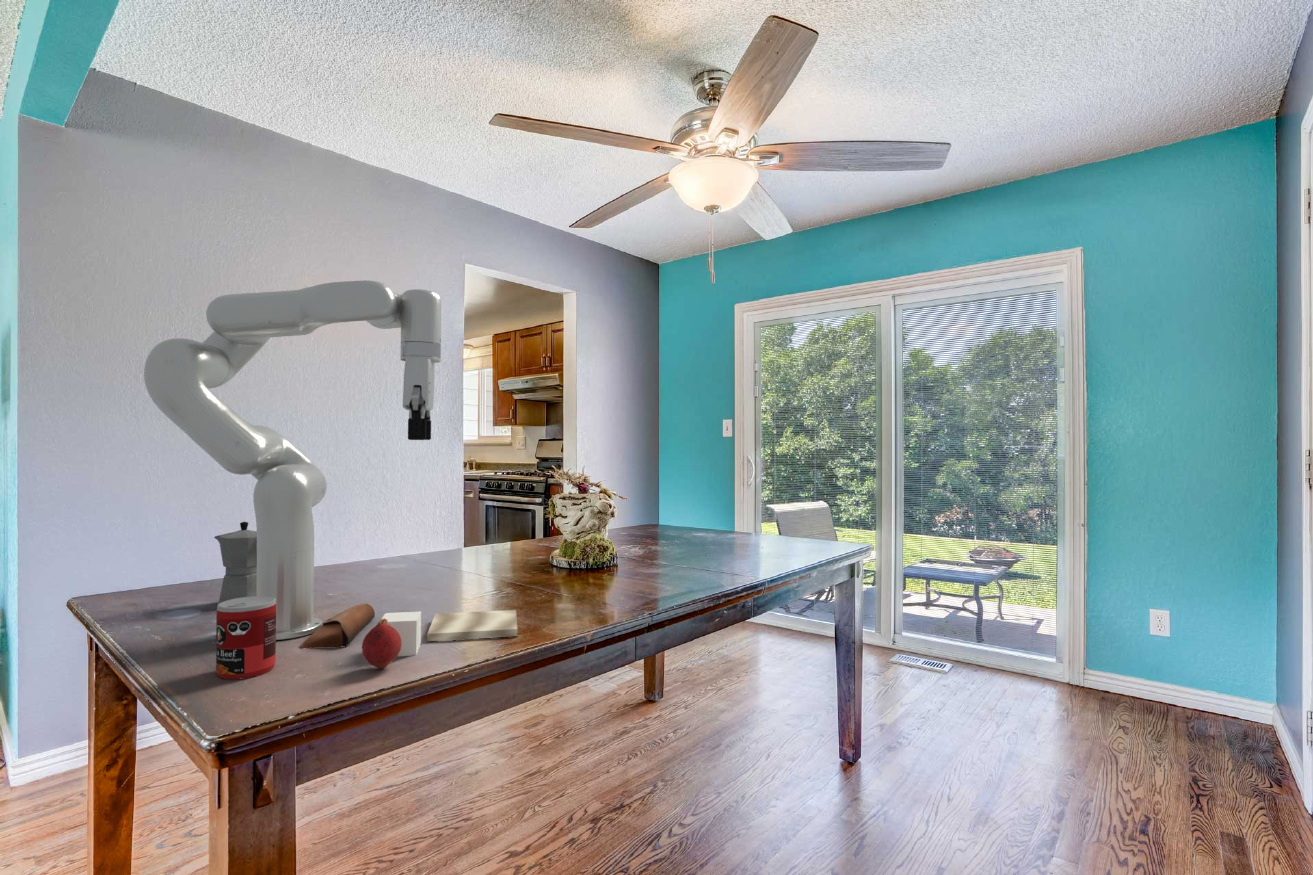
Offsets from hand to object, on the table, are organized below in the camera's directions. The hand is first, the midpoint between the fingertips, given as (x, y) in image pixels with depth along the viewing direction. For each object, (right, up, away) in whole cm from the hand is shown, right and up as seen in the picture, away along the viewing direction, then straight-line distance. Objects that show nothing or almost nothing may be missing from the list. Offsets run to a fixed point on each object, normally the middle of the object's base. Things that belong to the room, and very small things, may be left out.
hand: (419, 439), depth 130 cm
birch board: (+12, -37, -2) cm, 39 cm away
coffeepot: (-44, -37, +16) cm, 59 cm away
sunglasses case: (-13, -37, -6) cm, 40 cm away
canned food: (-18, -37, -27) cm, 49 cm away
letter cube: (+2, -37, -16) cm, 40 cm away
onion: (+3, -37, -25) cm, 45 cm away
